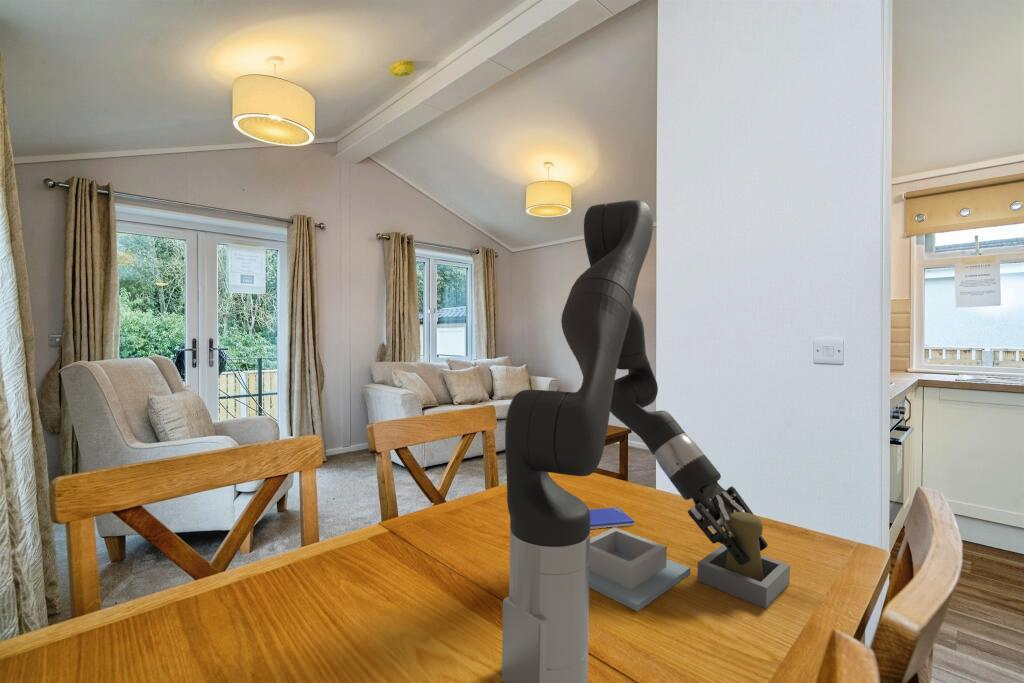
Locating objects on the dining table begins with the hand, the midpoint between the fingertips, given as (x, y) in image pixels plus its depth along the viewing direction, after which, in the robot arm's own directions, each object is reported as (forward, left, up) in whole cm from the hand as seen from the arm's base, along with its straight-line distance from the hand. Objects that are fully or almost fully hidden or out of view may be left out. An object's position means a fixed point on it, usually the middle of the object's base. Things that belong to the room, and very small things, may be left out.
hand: (754, 555), depth 76 cm
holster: (0, +2, -5) cm, 5 cm away
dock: (-12, +17, -5) cm, 21 cm away
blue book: (+3, +33, -6) cm, 33 cm away
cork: (0, +2, -5) cm, 5 cm away
